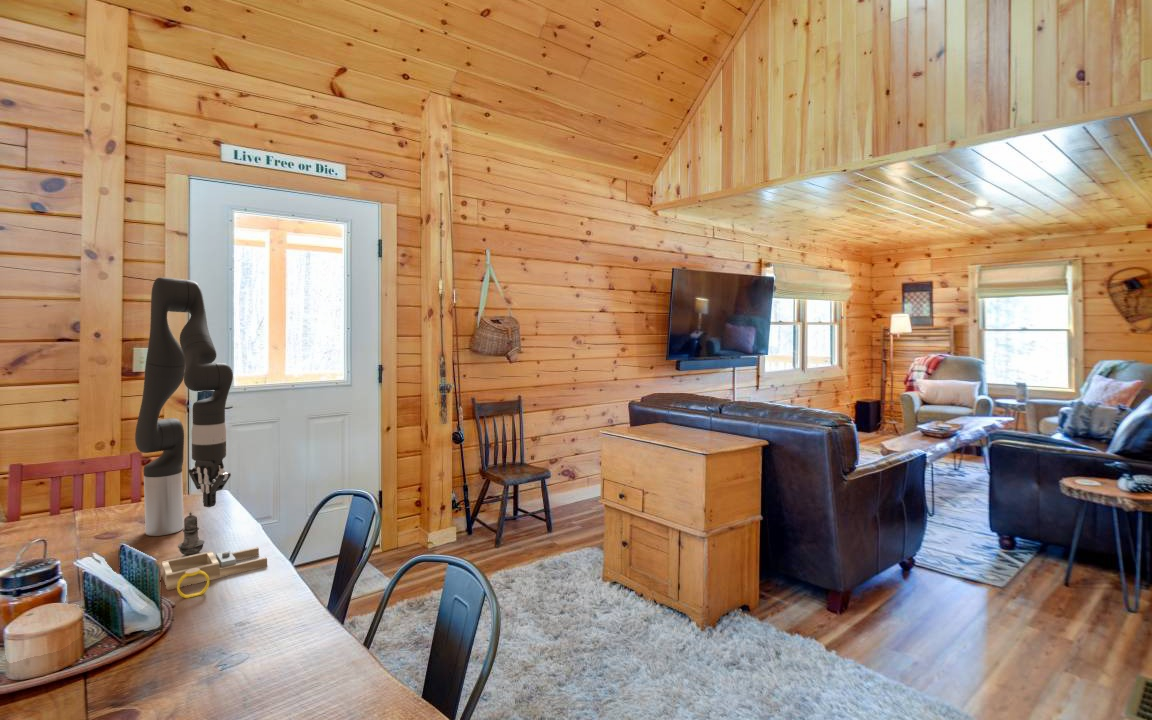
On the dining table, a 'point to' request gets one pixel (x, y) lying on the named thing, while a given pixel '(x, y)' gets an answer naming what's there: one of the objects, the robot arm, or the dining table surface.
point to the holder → (207, 567)
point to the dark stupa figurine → (191, 537)
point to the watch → (191, 573)
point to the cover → (226, 559)
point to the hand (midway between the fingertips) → (209, 506)
